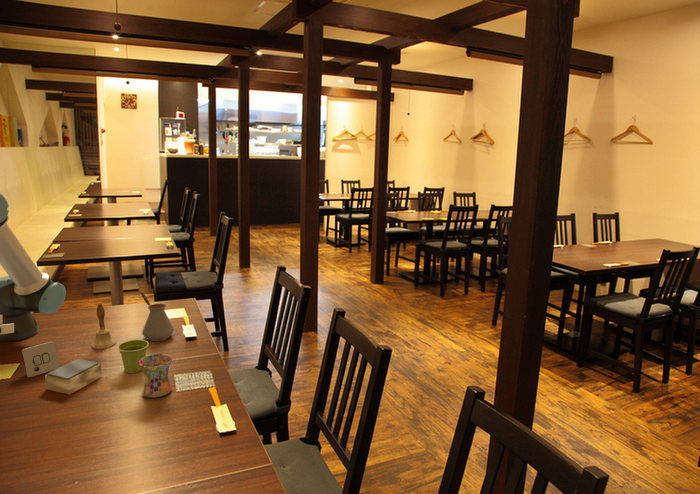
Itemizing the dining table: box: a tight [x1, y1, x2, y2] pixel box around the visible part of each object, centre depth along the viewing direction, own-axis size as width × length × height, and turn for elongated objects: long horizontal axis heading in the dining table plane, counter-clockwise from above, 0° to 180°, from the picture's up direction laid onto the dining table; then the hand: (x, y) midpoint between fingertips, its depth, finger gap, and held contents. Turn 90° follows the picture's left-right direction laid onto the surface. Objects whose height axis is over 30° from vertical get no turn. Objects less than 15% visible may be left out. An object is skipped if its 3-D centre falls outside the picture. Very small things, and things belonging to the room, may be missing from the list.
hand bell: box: [91, 303, 117, 350], centre depth 173 cm, size 8×8×16 cm
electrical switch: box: [21, 341, 61, 378], centre depth 153 cm, size 9×5×9 cm, turn 141°
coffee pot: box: [138, 291, 175, 342], centre depth 185 cm, size 21×12×15 cm, turn 45°
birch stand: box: [44, 358, 103, 395], centre depth 146 cm, size 12×9×5 cm
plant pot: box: [117, 339, 150, 374], centre depth 156 cm, size 9×9×9 cm
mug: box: [139, 353, 173, 398], centre depth 142 cm, size 12×9×11 cm
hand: (8, 323), depth 145 cm, fingers open, 13 cm apart
